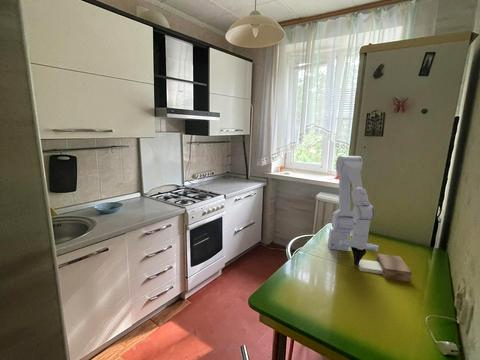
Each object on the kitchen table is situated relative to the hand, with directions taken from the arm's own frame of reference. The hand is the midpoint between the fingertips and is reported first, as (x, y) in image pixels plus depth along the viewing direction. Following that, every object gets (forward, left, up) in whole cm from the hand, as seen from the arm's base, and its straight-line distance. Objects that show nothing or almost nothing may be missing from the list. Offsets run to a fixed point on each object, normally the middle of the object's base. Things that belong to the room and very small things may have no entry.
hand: (356, 263), depth 105 cm
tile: (+7, 0, -2) cm, 7 cm away
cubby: (+14, 0, -1) cm, 14 cm away
